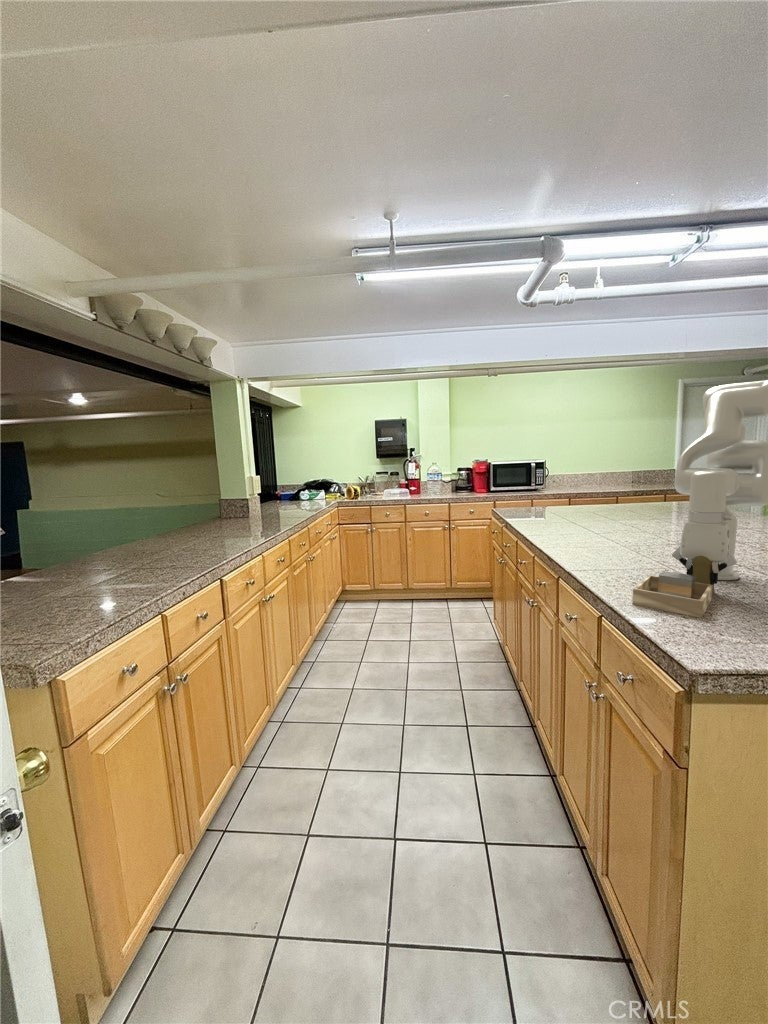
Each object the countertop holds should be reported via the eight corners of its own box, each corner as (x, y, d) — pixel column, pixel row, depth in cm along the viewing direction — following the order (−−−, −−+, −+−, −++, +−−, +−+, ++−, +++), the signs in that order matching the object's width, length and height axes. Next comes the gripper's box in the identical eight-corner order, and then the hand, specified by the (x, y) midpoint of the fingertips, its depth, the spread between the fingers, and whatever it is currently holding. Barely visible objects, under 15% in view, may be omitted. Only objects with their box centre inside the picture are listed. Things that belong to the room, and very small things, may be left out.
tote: (648, 590, 115) (649, 575, 114) (711, 601, 105) (712, 584, 105) (632, 606, 104) (633, 588, 103) (701, 620, 94) (702, 601, 93)
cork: (719, 595, 108) (723, 555, 106) (693, 595, 109) (696, 555, 107) (706, 588, 114) (709, 549, 112) (682, 587, 115) (684, 549, 113)
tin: (661, 592, 112) (663, 570, 111) (693, 598, 107) (695, 575, 106) (657, 597, 108) (658, 575, 107) (690, 603, 103) (692, 580, 102)
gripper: (749, 518, 105) (743, 586, 108) (671, 513, 117) (667, 575, 120) (746, 522, 100) (740, 594, 103) (665, 517, 112) (661, 581, 114)
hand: (701, 583), depth 111 cm, fingers closed on cork, 3 cm apart
